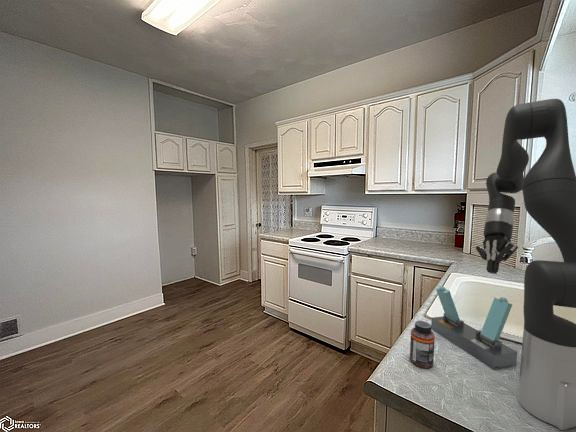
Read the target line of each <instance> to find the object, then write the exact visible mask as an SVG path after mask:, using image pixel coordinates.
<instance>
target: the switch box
mask: <svg viewBox="0 0 576 432" xmlns="http://www.w3.org/2000/svg"><path fill="white" fill-rule="evenodd" d="M430 325H431V330H432V329H433V331H434V332H436V333H437V334H439V335H441V337H443V338H445V339H446V340H448V341H449V342H451V343H452V344H454V345H455V346H457V347H459V349H461V350H463V351H465V352H466V353H468V354H469V355H470V356H472V357H473V358H474V359H477V360H478V361H480V362H481V363H482V364H484V365H485V366H487V367H489V368H490V369H492V370H498V369H505V368H509V367H515V366H517V358H518V351H517V350H515V349H513V348H511V347H509V346H507V345H506V344H504V343H503V341H501V340H498V341H495V344H494V346H493V345H492V344H490V343H488V342H486V341H484V340H483V339H481V338H480V337H479V335H480V333H481V331H482V329H481V330H479V329H476V328H474V327H472V326H471V325H468V324H466V323H465V322H464V320H461V319H460V321H458V324H457V325H456V324H455V323H453V322H451V321H449V320H448V319H446V315H445V312H443V316H434V317H431V323H430Z"/></svg>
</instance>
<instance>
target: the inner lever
mask: <svg viewBox="0 0 576 432" xmlns="http://www.w3.org/2000/svg"><path fill="white" fill-rule="evenodd" d="M512 307H513V303H510V302H508V299H507V298H506V297H502V296H501V297H500V298H497V297H493V300H492V303H491V306H490V307H489V310H488V312H487V314H486V315H487V316H486V318H485V321H484V322H483V326H482V328H481V333H480V335H479V337H480V338H481V339H483V340H484V341H486V342H488V343H490V344H492V345H493V346H494V344H495V341H500V338H501V335H502V333H503V330H504V328H505V325H506V323H507V320H508V317H509V314H510V312H511V309H512Z"/></svg>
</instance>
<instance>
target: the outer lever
mask: <svg viewBox="0 0 576 432" xmlns="http://www.w3.org/2000/svg"><path fill="white" fill-rule="evenodd" d="M435 290H436V293H437V296H438V299H439V301H440V304H441V306H442V309H443V313H445V315H446V319H448V320H449V321H451V322H453V323H455V324H456V325H457V324H458V321H460V320H461V319H460V317H459V314H458V311H457V307H456V305H455V302H454V300H453V296H452V294H451V291H450V290H448V289H447V288H446V287H444V286H441V285H440V286H438V287H436V288H435Z"/></svg>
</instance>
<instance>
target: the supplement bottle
mask: <svg viewBox="0 0 576 432" xmlns="http://www.w3.org/2000/svg"><path fill="white" fill-rule="evenodd" d="M435 343H436V339H435V334H434V332H433V331H432V329H431V323H429V322H427V321H424V320H417V321H415V322H414V327H412V329H411V330H410V345H409V346H410V348H409V360H410V361H411V362H412V364H414V365H415V366H417V367H419V368H422V369H429V368H432V367H433V365H434V362H435V361H434V359H435V358H434V357H435Z"/></svg>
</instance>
